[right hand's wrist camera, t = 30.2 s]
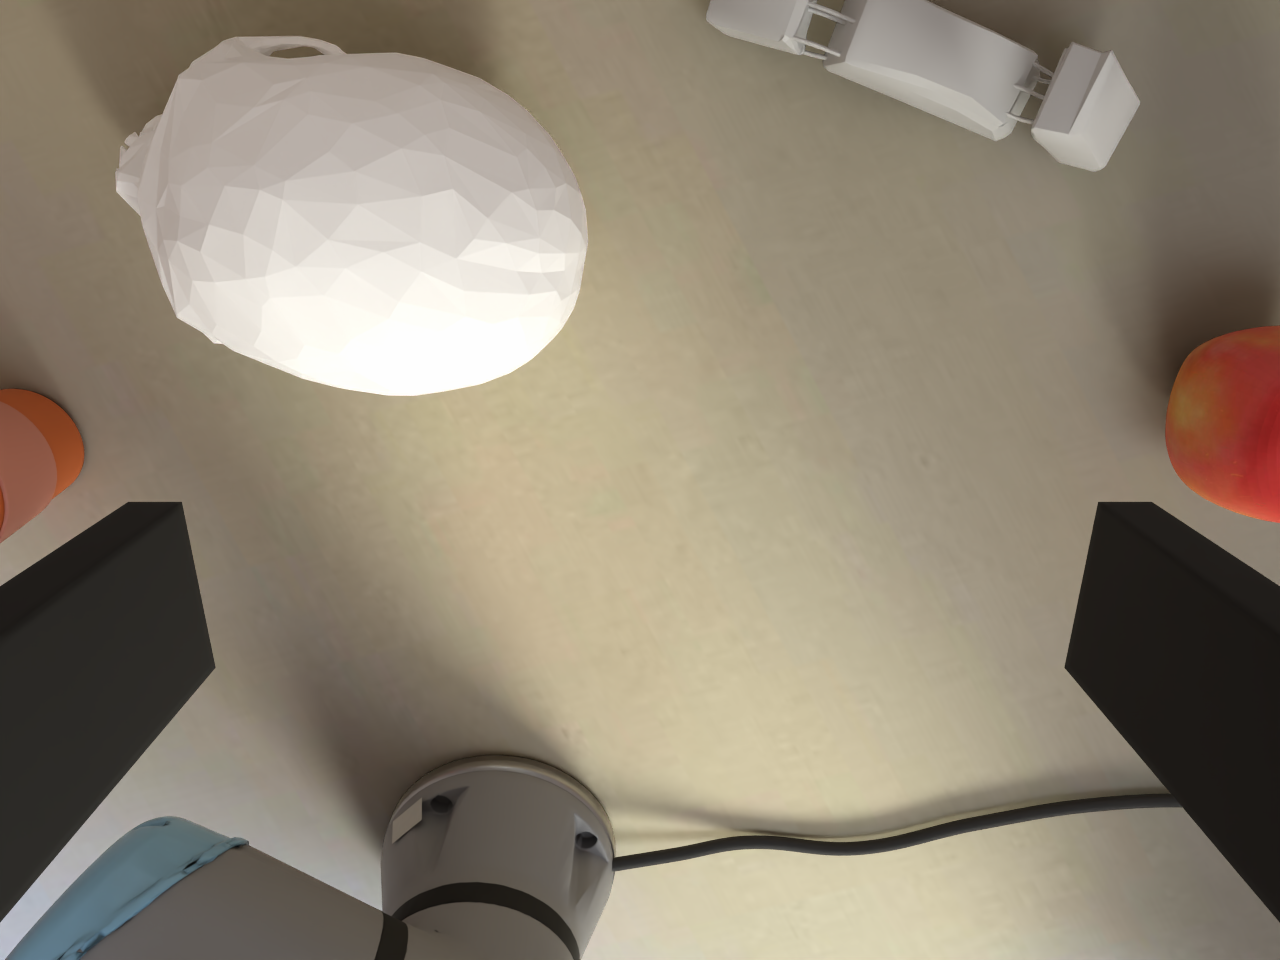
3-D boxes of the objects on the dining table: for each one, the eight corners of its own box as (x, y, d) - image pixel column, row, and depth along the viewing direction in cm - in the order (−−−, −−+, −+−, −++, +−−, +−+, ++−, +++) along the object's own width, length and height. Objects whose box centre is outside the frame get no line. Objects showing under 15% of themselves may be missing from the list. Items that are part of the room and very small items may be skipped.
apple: (1222, 503, 48) (1362, 584, 39) (1085, 432, 47) (1197, 499, 37) (1340, 353, 45) (1524, 402, 36) (1198, 272, 44) (1351, 301, 34)
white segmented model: (1126, 98, 40) (1204, 78, 34) (1088, 177, 42) (1155, 172, 35) (732, -48, 40) (734, -96, 34) (705, 36, 41) (702, 5, 35)
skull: (142, 26, 40) (-152, -36, 25) (607, 91, 41) (587, 68, 26) (166, 308, 45) (-67, 394, 30) (579, 360, 46) (549, 467, 31)
